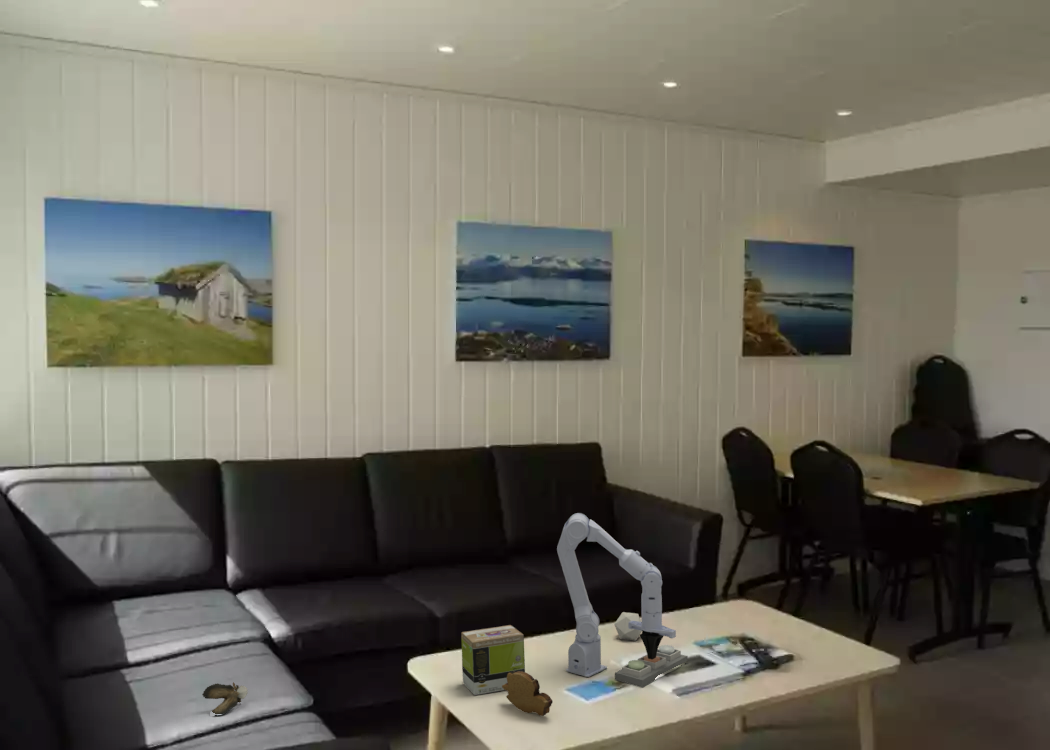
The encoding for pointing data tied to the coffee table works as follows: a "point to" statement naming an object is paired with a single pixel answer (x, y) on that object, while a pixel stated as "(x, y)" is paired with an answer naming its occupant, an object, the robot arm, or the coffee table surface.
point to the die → (623, 626)
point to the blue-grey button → (666, 649)
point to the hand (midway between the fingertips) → (651, 658)
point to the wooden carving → (526, 693)
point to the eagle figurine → (225, 696)
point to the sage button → (636, 665)
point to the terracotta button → (652, 659)
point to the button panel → (650, 669)
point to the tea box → (491, 657)
